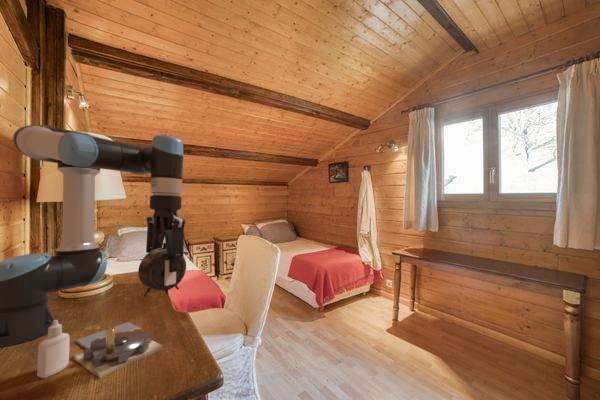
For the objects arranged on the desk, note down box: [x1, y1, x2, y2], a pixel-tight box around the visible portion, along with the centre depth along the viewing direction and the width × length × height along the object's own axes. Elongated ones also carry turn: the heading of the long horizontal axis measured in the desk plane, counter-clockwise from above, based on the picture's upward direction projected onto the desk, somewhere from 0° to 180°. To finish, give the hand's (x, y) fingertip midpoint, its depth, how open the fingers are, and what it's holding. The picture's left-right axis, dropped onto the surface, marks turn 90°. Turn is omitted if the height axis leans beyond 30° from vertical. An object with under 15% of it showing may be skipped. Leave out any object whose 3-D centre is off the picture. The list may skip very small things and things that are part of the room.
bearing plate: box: [72, 339, 164, 379], centre depth 70 cm, size 15×15×1 cm
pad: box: [75, 321, 143, 350], centre depth 79 cm, size 8×14×1 cm, turn 149°
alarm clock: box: [137, 233, 187, 298], centre depth 70 cm, size 11×5×16 cm, turn 141°
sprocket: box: [83, 326, 153, 366], centre depth 70 cm, size 15×15×8 cm
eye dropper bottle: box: [36, 319, 71, 379], centre depth 62 cm, size 4×6×12 cm
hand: (163, 281), depth 69 cm, fingers closed on alarm clock, 5 cm apart
